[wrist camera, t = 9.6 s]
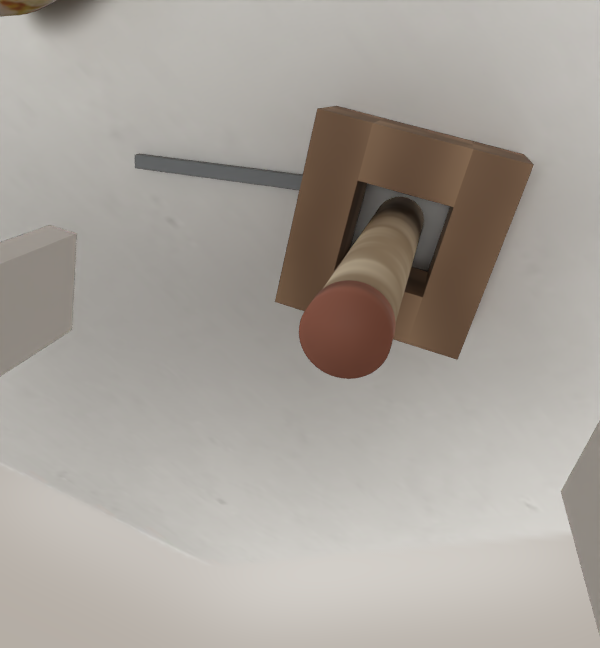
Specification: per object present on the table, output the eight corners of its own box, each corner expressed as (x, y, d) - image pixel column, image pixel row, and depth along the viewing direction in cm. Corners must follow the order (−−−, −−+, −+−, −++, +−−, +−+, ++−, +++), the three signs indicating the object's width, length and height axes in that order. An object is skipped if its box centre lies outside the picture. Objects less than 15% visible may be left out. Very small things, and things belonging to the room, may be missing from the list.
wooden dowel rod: (368, 236, 29) (289, 359, 16) (383, 189, 28) (312, 278, 15) (414, 251, 29) (374, 391, 15) (432, 204, 28) (404, 310, 14)
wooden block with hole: (296, 277, 31) (275, 301, 28) (336, 105, 27) (317, 108, 24) (458, 327, 30) (457, 359, 26) (524, 154, 26) (533, 164, 22)
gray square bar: (139, 167, 31) (135, 168, 31) (139, 153, 31) (134, 154, 30) (316, 190, 29) (314, 192, 29) (318, 176, 29) (315, 178, 28)
